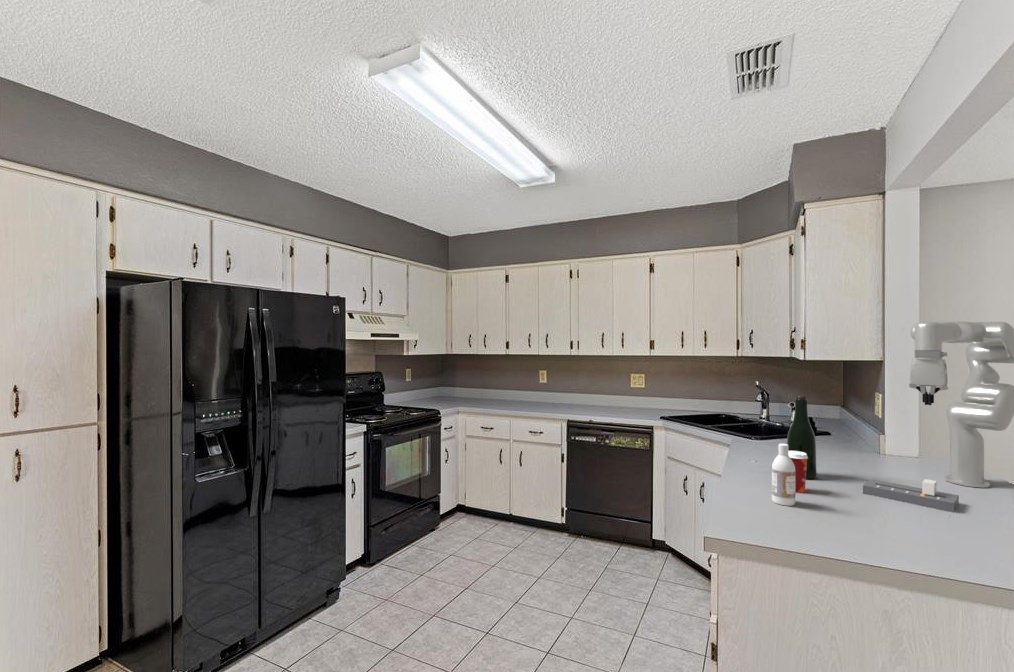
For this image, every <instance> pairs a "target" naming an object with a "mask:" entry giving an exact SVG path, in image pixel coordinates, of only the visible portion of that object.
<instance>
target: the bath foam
mask: <svg viewBox="0 0 1014 672" xmlns="http://www.w3.org/2000/svg"><path fill="white" fill-rule="evenodd" d="M771 501H772V502H773V503H775V504H776V505H780V506H787V507H788V506H789V507H791V506H795V504H796V492H795V466H794V463H793V461H792V460H791V458H790V457H789V456H788V445H787V443H779V444H778V454H777V455H776V457H775V458H774V460H773V461H772V465H771Z"/></svg>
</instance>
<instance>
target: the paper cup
mask: <svg viewBox="0 0 1014 672" xmlns="http://www.w3.org/2000/svg"><path fill="white" fill-rule="evenodd" d="M788 456H789V457H790V458H791V460H792V461H793V463H794V466H795V494H796V493H798V494H801V493H802V494H803V493H805V490H806V480H807V479H806V468H807V458H808V457H807V454H806V453H804V452H799V451H788Z"/></svg>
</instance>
